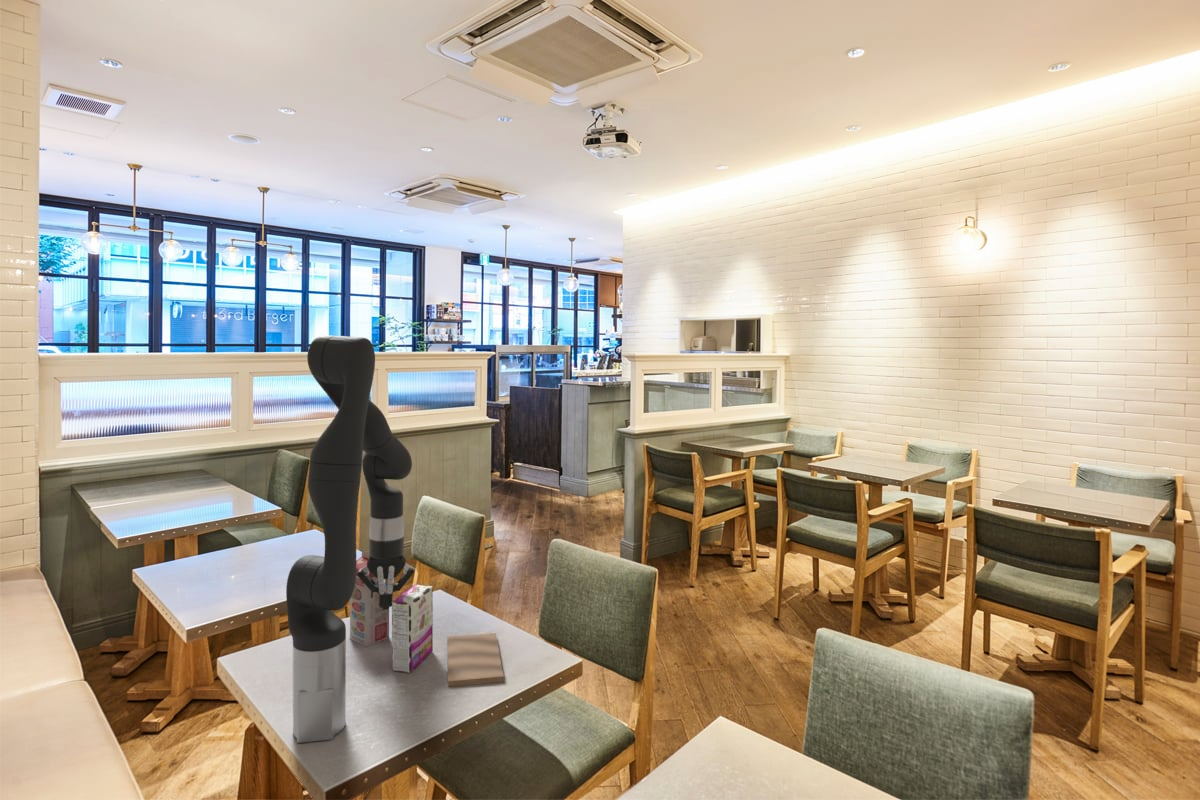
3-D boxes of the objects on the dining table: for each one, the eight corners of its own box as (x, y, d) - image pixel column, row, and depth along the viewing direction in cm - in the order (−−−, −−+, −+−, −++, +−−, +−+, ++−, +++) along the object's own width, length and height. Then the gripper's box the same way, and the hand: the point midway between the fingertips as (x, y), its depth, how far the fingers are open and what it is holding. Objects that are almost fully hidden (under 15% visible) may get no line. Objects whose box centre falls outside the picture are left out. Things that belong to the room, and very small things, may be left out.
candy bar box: (414, 649, 156) (414, 583, 154) (433, 651, 155) (434, 585, 153) (390, 671, 145) (390, 600, 143) (410, 674, 144) (411, 603, 142)
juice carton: (373, 630, 165) (373, 546, 164) (388, 637, 161) (389, 552, 160) (349, 638, 160) (350, 552, 158) (365, 646, 156) (366, 558, 154)
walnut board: (503, 681, 142) (503, 676, 142) (447, 686, 139) (448, 681, 139) (495, 637, 163) (495, 633, 163) (447, 641, 160) (447, 636, 160)
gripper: (353, 540, 141) (353, 617, 142) (416, 538, 144) (415, 613, 145) (357, 531, 148) (357, 603, 149) (417, 529, 151) (416, 600, 153)
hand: (386, 608), depth 147 cm, fingers closed
